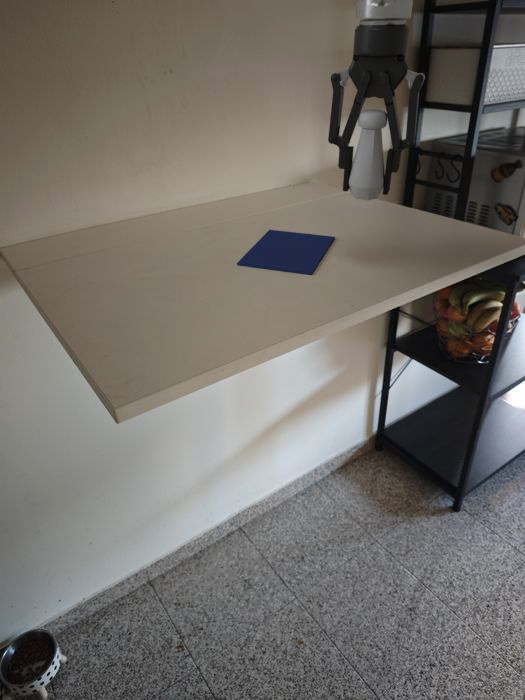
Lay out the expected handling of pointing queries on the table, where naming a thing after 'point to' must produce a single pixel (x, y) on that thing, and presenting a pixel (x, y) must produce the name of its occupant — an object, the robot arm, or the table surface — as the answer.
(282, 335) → the table surface
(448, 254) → the table surface
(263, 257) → the cloth
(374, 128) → the salt shaker
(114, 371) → the table surface
